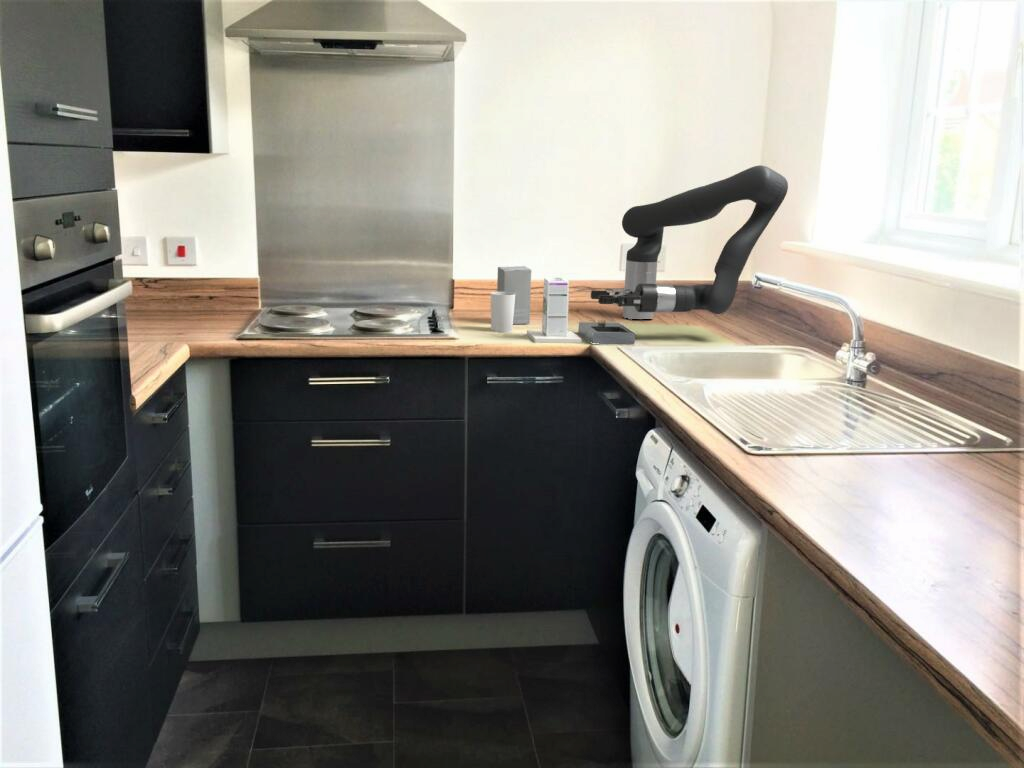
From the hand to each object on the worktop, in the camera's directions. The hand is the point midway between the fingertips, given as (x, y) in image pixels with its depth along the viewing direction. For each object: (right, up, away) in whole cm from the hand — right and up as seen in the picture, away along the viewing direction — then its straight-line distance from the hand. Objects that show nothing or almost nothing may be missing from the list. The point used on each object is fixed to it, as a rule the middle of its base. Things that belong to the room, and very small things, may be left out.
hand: (594, 297), depth 243 cm
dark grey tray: (+3, -11, +3) cm, 11 cm away
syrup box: (-11, -10, 0) cm, 14 cm away
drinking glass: (-24, -8, +9) cm, 27 cm away
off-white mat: (-11, -11, +1) cm, 15 cm away
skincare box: (-21, -6, +22) cm, 31 cm away
